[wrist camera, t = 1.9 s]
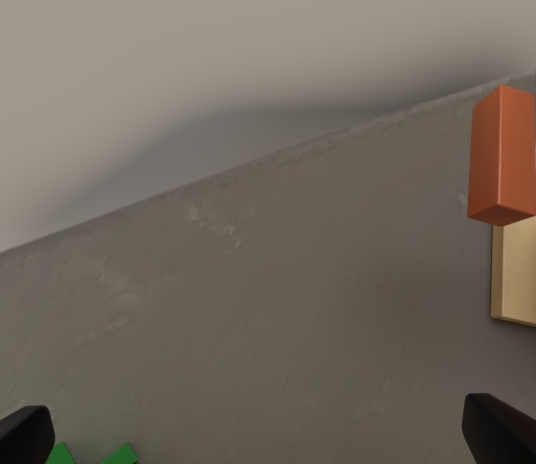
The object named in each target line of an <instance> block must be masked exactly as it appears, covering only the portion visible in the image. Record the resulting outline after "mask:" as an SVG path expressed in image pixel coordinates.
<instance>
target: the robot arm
mask: <svg viewBox="0 0 536 464" xmlns="http://www.w3.org/2000/svg"><path fill="white" fill-rule="evenodd" d="M462 431H463V435H464V438H465V440H466V442H467V444H468V446H469V449H470V451H471V453H472V455H473V457H474V459H475V461H476V463H477V464H536V420H535V419H533V418H531V417H530V416H528V415H526V414H524V413H522V412H521V411H519V410H517V409H515V408H514V407H512V406H510V405H508V404H507V403H505V402H503V401H501V400H500V399H498V398H496V397H494V396H493V395H491V394H488V393H470V394H468V395H467V396H466V397H465V402H464V410H463V419H462ZM54 443H55V433H54V428H53V424H52V420H51V416H50V412H49V409H48V408H47V407H46V406H43V405H38V406H26V407H23V408H21V409H19V410H18V411H16V412H14V413H12V414H11V415H9V416H7V417H5V418H4V419H2V420H0V464H45V463H46V461H47V459H48V457H49V455H50V453H51V451H52V449H53V446H54Z"/></svg>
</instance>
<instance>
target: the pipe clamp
mask: <svg viewBox="0 0 536 464" xmlns="http://www.w3.org/2000/svg"><path fill="white" fill-rule="evenodd" d="M137 460H138V458H137V456H136V455H135V453H134V452H133V450H132V449H131V447H130V445H129V444H128V443H126V444H125V445H124V446H122V447H121V448H120V449H118V450H117V451H115V452H114V453H113V454H111V455H110V456H108V457H107V458H106V459H104V460H103V461H102V462H100V463H99V464H133V463H134V462H136V461H137ZM45 464H75V462H74V460H73V459H72V457H71V455H70V453H69V452H68V450H67V448H66V446H65V445H64V443H63V442H62V443H60V444H58V445H56V446H54V447H53V449H52V451H51V453H50V455H49V457H48V459H47V461H46V463H45Z"/></svg>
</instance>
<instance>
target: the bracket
mask: <svg viewBox="0 0 536 464" xmlns="http://www.w3.org/2000/svg"><path fill="white" fill-rule="evenodd" d="M491 317H492V318H496V319H500V320H505V321H509V322H514V323H518V324H523V325H527V326H532V327H536V216H534V217H531V218H528V219H525V220H522V221H519V222H516V223H513V224H510V225H507V226H504V227H499V226H495V225H493V244H492V282H491Z"/></svg>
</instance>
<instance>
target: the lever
mask: <svg viewBox="0 0 536 464" xmlns="http://www.w3.org/2000/svg"><path fill="white" fill-rule="evenodd" d="M534 216H536V144H535V96H534V94H531V93H528V92H525V91H521V90H518V89H515V88H512V87H509V86H506V85H502V84H501V85H499V86H498V87H497V88H496V89H494V90H493V91H492V92H491V93H490V94H488V95H487V96H486V97H485V98H484V99H483V100H481V101H480V102H479V103H478V104H477V105H475V106H474V107H473V114H472V133H471V153H470V172H469V191H468V210H467V217H468V218H471V219H474V220H478V221H481V222H485V223H488V224H492V225H495V226H499V227H504V226H507V225H510V224H513V223H516V222H519V221H522V220H525V219H528V218H531V217H534Z"/></svg>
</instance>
